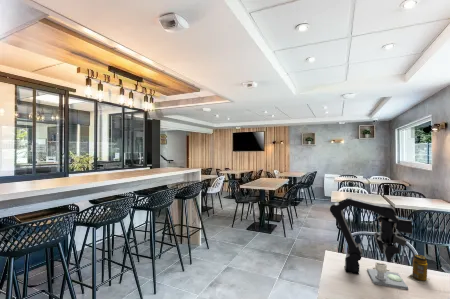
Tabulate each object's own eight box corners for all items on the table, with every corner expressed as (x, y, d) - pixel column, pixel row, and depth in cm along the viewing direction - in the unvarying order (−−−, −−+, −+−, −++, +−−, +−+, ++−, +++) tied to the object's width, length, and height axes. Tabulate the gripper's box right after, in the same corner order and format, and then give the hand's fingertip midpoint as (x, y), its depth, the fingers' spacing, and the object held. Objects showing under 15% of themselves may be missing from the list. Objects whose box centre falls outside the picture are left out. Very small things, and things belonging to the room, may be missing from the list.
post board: (373, 283, 121) (373, 273, 121) (366, 270, 134) (367, 261, 133) (408, 289, 117) (408, 278, 116) (397, 275, 129) (398, 265, 129)
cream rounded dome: (374, 271, 123) (374, 265, 123) (371, 266, 128) (371, 260, 128) (390, 273, 121) (390, 267, 121) (387, 268, 126) (387, 262, 126)
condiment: (429, 279, 125) (430, 257, 125) (424, 284, 121) (425, 262, 120) (413, 272, 131) (414, 252, 131) (407, 277, 127) (408, 256, 126)
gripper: (413, 238, 112) (411, 270, 113) (397, 224, 130) (395, 252, 131) (387, 235, 115) (385, 266, 116) (374, 222, 133) (373, 248, 134)
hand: (385, 257), depth 124 cm, fingers open, 9 cm apart
